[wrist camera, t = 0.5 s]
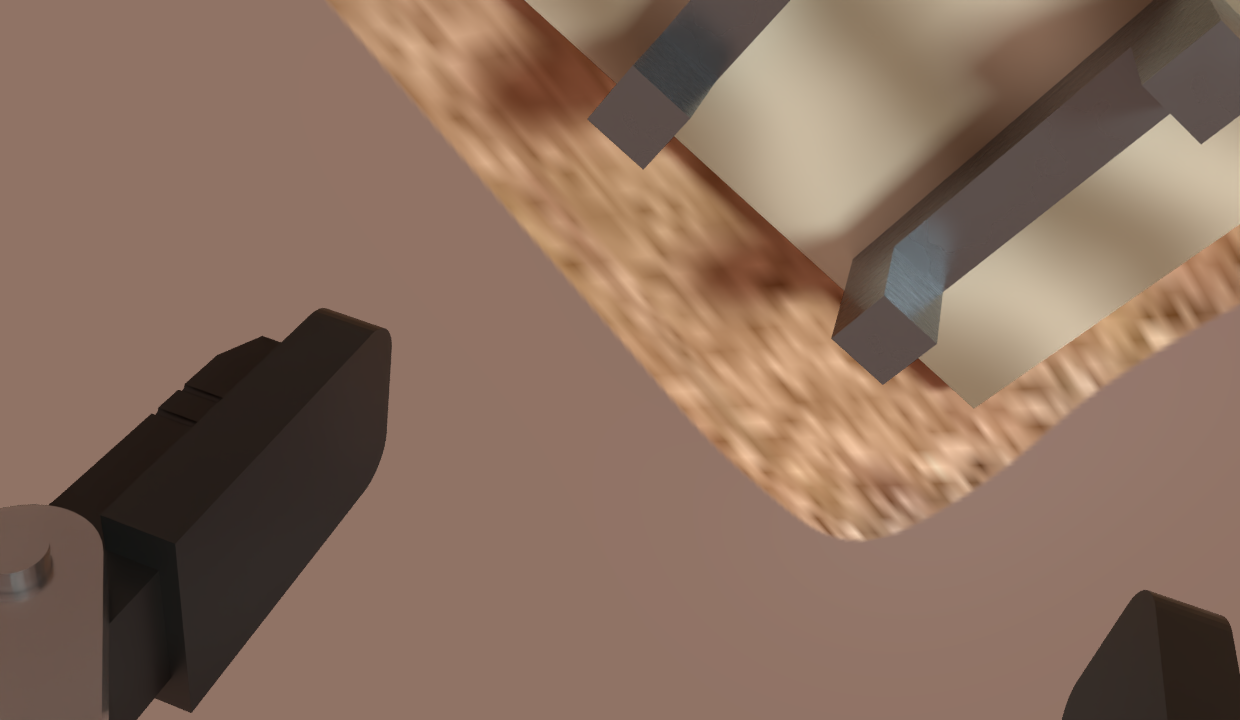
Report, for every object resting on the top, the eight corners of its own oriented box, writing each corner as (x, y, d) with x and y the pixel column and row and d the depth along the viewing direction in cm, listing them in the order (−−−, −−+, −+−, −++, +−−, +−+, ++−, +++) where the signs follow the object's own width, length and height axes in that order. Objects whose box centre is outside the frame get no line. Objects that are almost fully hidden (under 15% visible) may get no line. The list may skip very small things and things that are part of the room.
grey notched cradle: (940, -294, 27) (926, -283, 23) (1245, 21, 29) (1282, 83, 25) (638, 62, 34) (587, 119, 30) (898, 300, 35) (882, 384, 31)
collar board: (843, -470, 27) (835, -476, 26) (1383, 95, 30) (1398, 113, 29) (524, -28, 35) (506, -16, 34) (975, 384, 38) (974, 408, 37)
